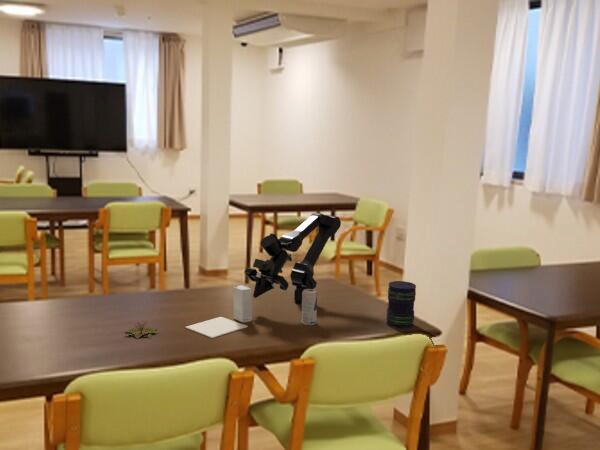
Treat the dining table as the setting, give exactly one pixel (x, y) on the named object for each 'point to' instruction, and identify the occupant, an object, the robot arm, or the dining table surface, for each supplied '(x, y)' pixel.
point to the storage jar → (401, 304)
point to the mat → (216, 327)
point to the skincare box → (242, 303)
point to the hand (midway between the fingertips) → (254, 297)
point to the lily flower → (133, 330)
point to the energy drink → (309, 307)
